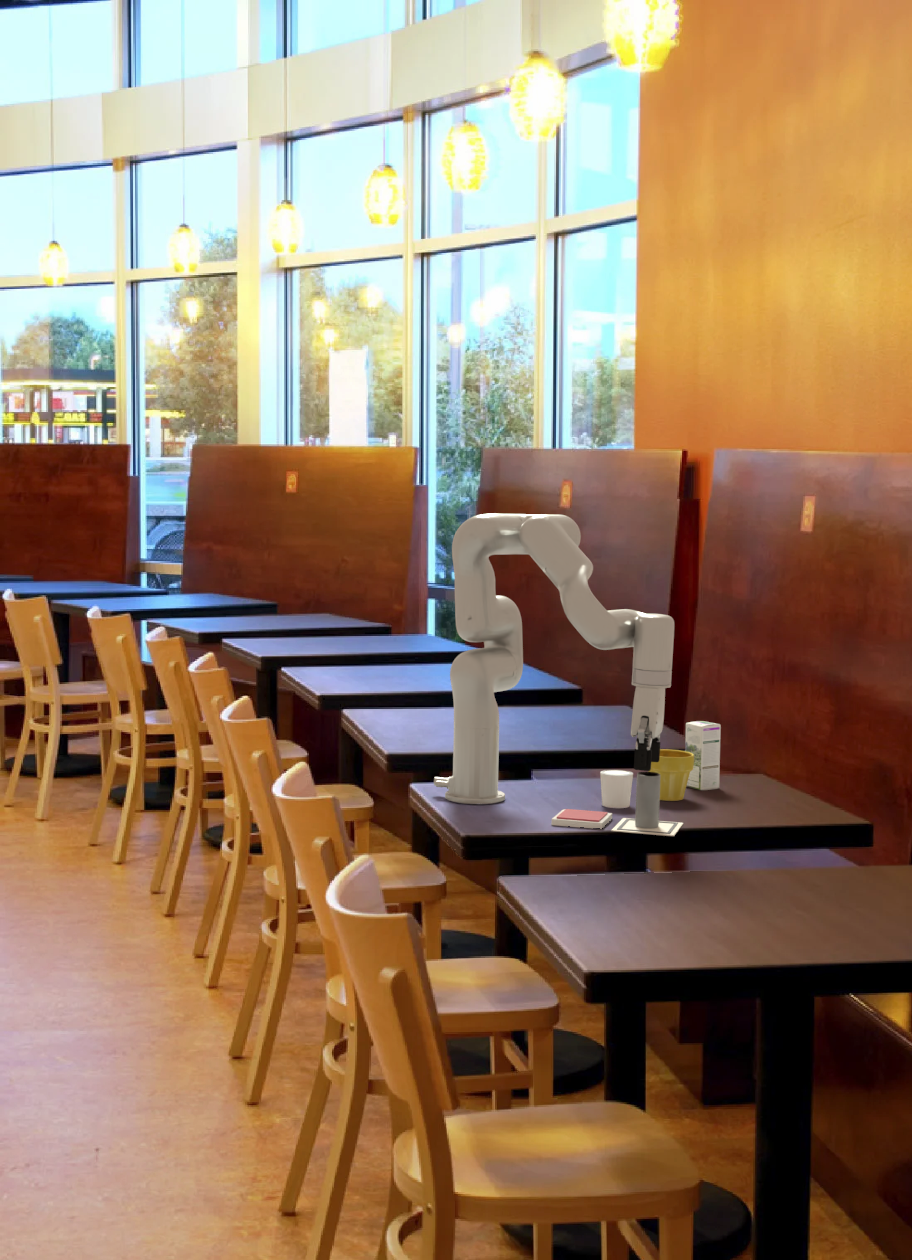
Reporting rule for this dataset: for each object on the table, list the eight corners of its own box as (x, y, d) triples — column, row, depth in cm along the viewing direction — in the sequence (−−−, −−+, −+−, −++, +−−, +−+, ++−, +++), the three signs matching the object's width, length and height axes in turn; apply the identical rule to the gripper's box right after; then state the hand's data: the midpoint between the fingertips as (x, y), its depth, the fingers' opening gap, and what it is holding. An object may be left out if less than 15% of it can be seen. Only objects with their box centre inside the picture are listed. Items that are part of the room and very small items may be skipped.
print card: (611, 831, 293) (611, 829, 293) (623, 819, 304) (623, 817, 304) (673, 836, 289) (673, 834, 289) (683, 823, 301) (683, 822, 301)
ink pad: (551, 825, 297) (551, 817, 297) (563, 815, 307) (563, 807, 307) (602, 829, 294) (602, 821, 294) (612, 819, 304) (612, 811, 304)
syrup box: (720, 788, 339) (722, 723, 337) (699, 791, 336) (702, 725, 334) (703, 784, 343) (705, 720, 342) (682, 786, 340) (684, 721, 339)
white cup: (633, 809, 314) (635, 775, 314) (600, 808, 314) (601, 774, 314) (630, 802, 321) (631, 769, 321) (598, 801, 321) (598, 768, 321)
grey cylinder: (642, 829, 294) (644, 776, 293) (630, 824, 298) (632, 772, 297) (662, 828, 296) (664, 775, 295) (651, 823, 300) (653, 771, 299)
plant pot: (702, 798, 327) (703, 753, 326) (675, 805, 319) (676, 758, 319) (661, 791, 334) (662, 747, 333) (634, 798, 326) (635, 752, 325)
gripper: (640, 671, 304) (635, 756, 305) (623, 682, 287) (619, 771, 289) (678, 674, 302) (673, 760, 303) (663, 685, 285) (658, 775, 287)
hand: (646, 765), depth 296 cm, fingers open, 9 cm apart
